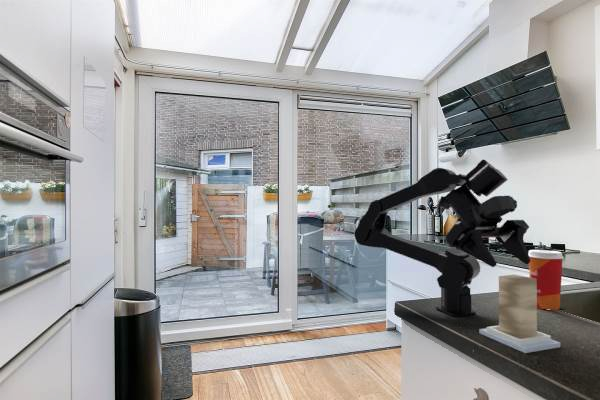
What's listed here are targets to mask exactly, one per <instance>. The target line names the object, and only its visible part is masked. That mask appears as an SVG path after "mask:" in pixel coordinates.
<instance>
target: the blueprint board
mask: <svg viewBox="0 0 600 400" xmlns="http://www.w3.org/2000/svg"><path fill="white" fill-rule="evenodd" d="M478 331H479V333H478V334H480V335H483V336H485V337H487V338H489V339H492V340H494V341H496V342H499V343H500V344H502V345H505V346H507V347H510V348H513V349H514V350H517V351H519V352H521V353H524V354H528V353H533V352H535V353H536V352H541V351H544V350H551V349H557V348H558V349H559V348H561V342H559V341H557V340H554V339H552V335H549V334H546V333H544V332H541V331H538V330H537V337H531V338H524V339H518V338H516V337H513V336H511V335H508V334H506V333H503V332H501V331H499V324H498V325H491V326H486V327H484V328H479V329H478Z"/></svg>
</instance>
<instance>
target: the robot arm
mask: <svg viewBox="0 0 600 400" xmlns="http://www.w3.org/2000/svg"><path fill="white" fill-rule="evenodd" d="M507 181H508V178H507V177H506V176H505V175H504V174H503V172H501V170H499V169H498V168H496V167H494V166H493V165H492V164H491V163H489V162H488V161H487V160H486V159H482V160H480V161H479V162H478V163H477V165H476V166H475V167H474V168H473V169H471V170H470V171H469V172H468V173H467V174H461V173H459V174H456V172H454V170H450V169H447V168H443V167H435V168H434V169H432V170H430V171H429V172H427V173H425V174H424V175H422V176H421V177H420V178H419V179H418V180H417V181H416V182H414V183H413V184H410V185H408V186H406V187H403V188H401V189H398V190H397V191H394V192H392V193H390V194H387V195H385V196H383V197H380V198H379V199H374V200H373V201H371V203H369V206H368V209H367V211H365V213H364V214H363V217H362V218H361V219H360V222H359V223H358V224H359V225H358V226H357V227H356V228H355V231H354V239H355V241H356V242H357V244H358V245H361V246H364V247H369V248H370V247H371V248H378V249H379V248H380V249H386V250H388V251H389V252H390V251H391V252H393V253H395V254H399V255H401V256H403V257H406V258H409V259H412V260H415V261H417V262H420V263H422V264H425V265H426V266H427V265H428V266H430V267H433V268H434V269H436V270H437V271H438V272H439V273H440V274H441V275H439V276H438V277H437V278H436V281H437V284H438V287H439V288H440V295H441V296H440V299H441V300H440V305H439V306H438V305H437V306H435V309H436V310H437V311H441V312H442V313H445V314H448V315H449V316H452V317H459V316H468V315H469V316H470V315H476V314H477V311H475V310H473V309H472V295H471V288H470V287H469V285H471V284H472V281H473V279H475V278H476V277H478V276H479V274H480V272H481V265H480V262H479V261H481V262H482V263H484V264H485V265H488V266H490V267H491V268H495V267H496V266H497V261H496V259H495V258H494V256H493V254H492V253H491V252H490V250H489V249H488V247H487V246H486V244H485V243H484V241H483V239H486V238H495V241H497V242H498V243H499V244H501V245H500V247H502V248H503V249H504V250H506V251H507V252H509V254H511V255H512V256H514V257H515V258H516V259H518V260H519V261H520V262H522V263H523V264H525V265H529V263H530V258H529V255H528V252H529V251H528V250H527V248H526V244H525V241H524V235H525V234H526V233H527V231H528V229H530V225H529V224H528V223H527V222H526V221H525V220H524V219H507V220H506V221H504V223H503V224H502V225H501V226H498V224H499V223H501V222H502V221H503V218H502V217H503V216H504V215H507V214H509V213H512V212H513V213H514V212H515V211H516V209H517V208H518V204H517V203H518V201H517V200H516V199H515V198H514V197H513V196H511V195H495V196H492V197H490V198H488V199H486V200H485V201H483V202H480V201H479V200H478V198H477V197H481V196H482V195H483V196H485V197H488V196H490V195H491V194H492V193H493V192H494V191H496V190H497V189H498V188H500V187H501V186H502V185H503V184H504V183H506V182H507ZM446 193H447V194H446ZM440 194H446V195H444V196H443V195H442V196H440V200H439V202H438V206H439V207H440V208H443V209H445V210H449V209H450V208H451V209H452V211H453V212H454V213H455V214H456V216H457V220H456V221H455V223H453V225H452V226H451V228H450V229H449V230H448V231H447V233H446V234H445V241H446V243H447V244H448V246H449V247H450V248H449V249H446V250H445V251H442V250H441V251H440V250H437V249H435V248H432V247H429V246H426V245H424V244H420V243H418V242H414V241H411V240H408V239H405V238H403V237H400V236H397V235H394V234H392V233H391V232H390V231H388V230H387V229H386V228H385V226H386V223H387V215H388V213H389V212H390V211H393V210H395V209H397V208H400V207H402V206H404V205H407V204H409V203H412V202H415V201H417V200H419V199H422V198H425V197H429V196H436V195H440ZM474 194H475V195H476V196H477V197H476V196H475V195H474ZM478 260H479V261H478Z"/></svg>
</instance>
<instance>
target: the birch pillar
mask: <svg viewBox="0 0 600 400" xmlns="http://www.w3.org/2000/svg"><path fill="white" fill-rule="evenodd" d="M498 325H499V331H501V332H503V333H506V334H508V335H511V336H513V337H516V338H518V339H524V338H531V337H537V331H538V308H537V279H535V278H530V276H524V275H518V274H508V275H506V274H505V275H499V276H498Z"/></svg>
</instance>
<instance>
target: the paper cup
mask: <svg viewBox="0 0 600 400" xmlns="http://www.w3.org/2000/svg"><path fill="white" fill-rule="evenodd" d="M527 252H528V255H529V258H530V263H529V264H528V270H529V277H530V278H535V279H537V309H538V308H539V309H538V310H542V309H550V310H553V311H559V310H560V304H561V291H562V290H561V288H562V275H563V274H562V272H563V259H565V257H564V256H563V253H562V252H561V251H557V250H548V249H547V250H546V249H530V250H528V251H527ZM553 311H552V312H553Z"/></svg>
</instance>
